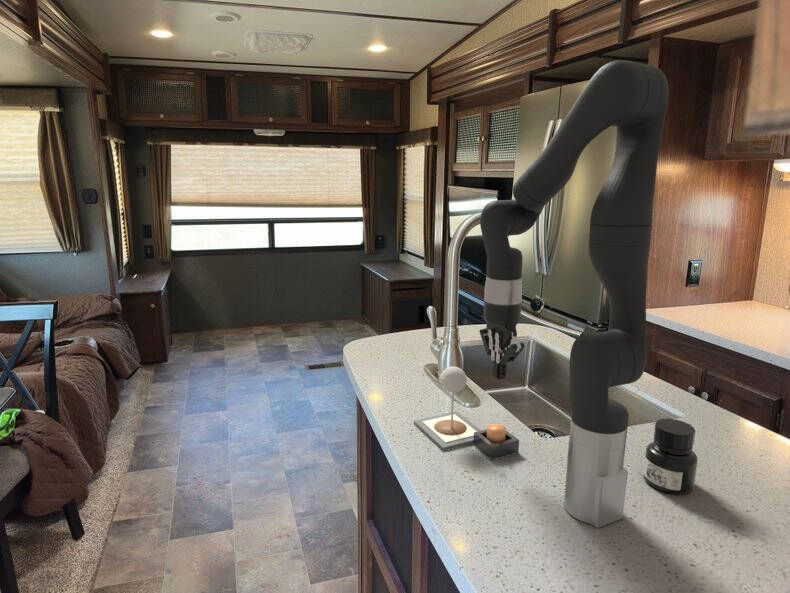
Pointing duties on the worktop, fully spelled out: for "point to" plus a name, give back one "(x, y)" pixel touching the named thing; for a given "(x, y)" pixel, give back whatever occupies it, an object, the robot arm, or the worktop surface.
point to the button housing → (496, 445)
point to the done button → (496, 433)
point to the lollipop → (453, 383)
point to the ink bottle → (671, 457)
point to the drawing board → (448, 430)
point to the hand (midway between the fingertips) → (498, 377)
